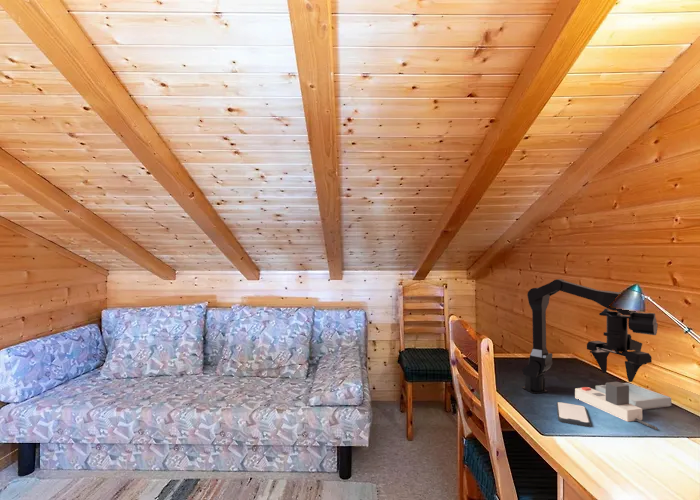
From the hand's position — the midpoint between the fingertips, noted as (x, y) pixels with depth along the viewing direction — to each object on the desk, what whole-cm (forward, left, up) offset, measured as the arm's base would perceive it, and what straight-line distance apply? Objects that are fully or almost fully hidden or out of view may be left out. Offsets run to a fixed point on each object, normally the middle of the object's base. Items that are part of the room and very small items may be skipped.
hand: (617, 377), depth 125 cm
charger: (0, 0, -10) cm, 10 cm away
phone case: (-16, +2, -12) cm, 20 cm away
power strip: (0, 0, -12) cm, 12 cm away
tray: (+16, +8, -12) cm, 21 cm away
